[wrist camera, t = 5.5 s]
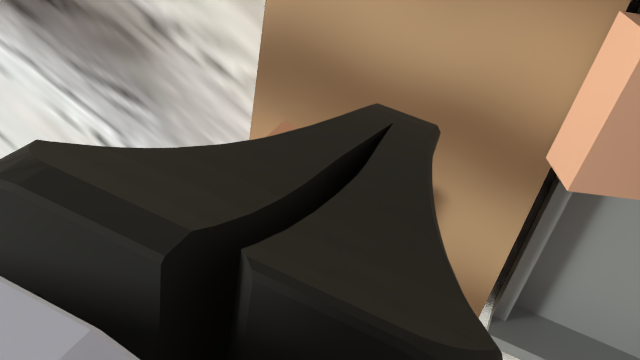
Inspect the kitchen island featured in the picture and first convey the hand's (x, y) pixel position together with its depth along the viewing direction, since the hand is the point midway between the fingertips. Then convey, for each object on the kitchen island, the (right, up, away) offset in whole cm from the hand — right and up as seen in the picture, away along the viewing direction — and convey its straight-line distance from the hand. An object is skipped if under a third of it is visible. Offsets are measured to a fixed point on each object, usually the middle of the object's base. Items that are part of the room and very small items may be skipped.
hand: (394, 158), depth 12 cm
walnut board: (+2, +2, +10) cm, 10 cm away
